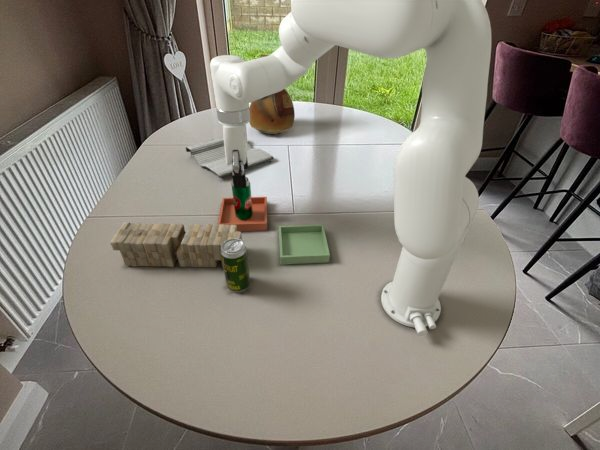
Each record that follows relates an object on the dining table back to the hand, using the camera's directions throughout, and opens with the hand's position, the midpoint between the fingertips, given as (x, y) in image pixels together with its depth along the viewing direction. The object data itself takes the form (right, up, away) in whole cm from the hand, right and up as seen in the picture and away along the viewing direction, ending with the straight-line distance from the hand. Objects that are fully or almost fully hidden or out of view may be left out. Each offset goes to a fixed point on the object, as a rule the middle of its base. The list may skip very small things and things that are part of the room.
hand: (241, 178), depth 89 cm
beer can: (+1, -26, -12) cm, 29 cm away
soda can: (-1, -10, +8) cm, 13 cm away
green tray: (+16, -18, -1) cm, 25 cm away
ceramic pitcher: (+3, +30, +59) cm, 66 cm away
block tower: (-13, -21, -5) cm, 25 cm away
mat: (-10, +12, +36) cm, 39 cm away
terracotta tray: (-1, -10, +8) cm, 13 cm away
